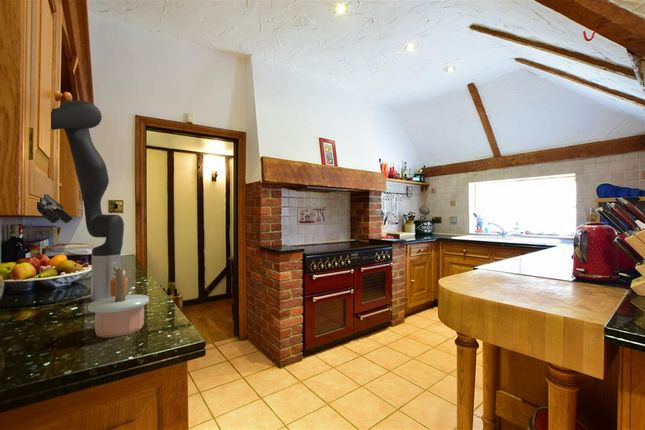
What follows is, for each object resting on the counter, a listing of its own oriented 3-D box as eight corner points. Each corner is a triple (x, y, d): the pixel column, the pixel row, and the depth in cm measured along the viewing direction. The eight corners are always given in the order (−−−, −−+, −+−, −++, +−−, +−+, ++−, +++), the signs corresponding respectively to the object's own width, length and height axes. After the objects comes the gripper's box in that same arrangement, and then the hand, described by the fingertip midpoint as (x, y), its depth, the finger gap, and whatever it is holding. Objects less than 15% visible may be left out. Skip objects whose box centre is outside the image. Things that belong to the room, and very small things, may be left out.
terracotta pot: (93, 329, 82) (94, 304, 82) (139, 320, 89) (139, 297, 89) (96, 341, 73) (97, 313, 73) (146, 330, 81) (147, 305, 81)
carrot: (130, 308, 101) (131, 265, 101) (119, 312, 96) (120, 267, 96) (117, 307, 102) (118, 265, 102) (106, 312, 97) (107, 267, 97)
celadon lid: (86, 304, 82) (87, 269, 82) (143, 296, 91) (144, 264, 91) (89, 316, 71) (90, 276, 71) (153, 305, 81) (154, 270, 81)
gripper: (9, 165, 74) (65, 211, 78) (38, 174, 87) (84, 212, 91) (-20, 185, 72) (39, 230, 76) (13, 190, 85) (62, 229, 89)
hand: (63, 221), depth 84 cm, fingers open, 8 cm apart
